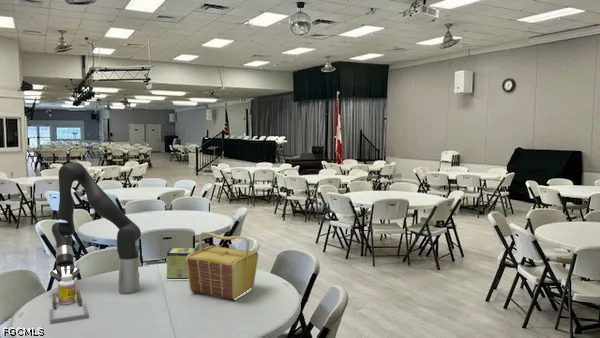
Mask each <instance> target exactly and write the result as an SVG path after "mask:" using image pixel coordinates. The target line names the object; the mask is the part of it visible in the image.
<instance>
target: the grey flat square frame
mask: <svg viewBox="0 0 600 338" xmlns="http://www.w3.org/2000/svg"><path fill="white" fill-rule="evenodd" d="M82 309H83V312H84V314H77V315H70V316H63V317H59V318H58V317H57V318H55V316H54V310H53V308H49V317H50V318H49V319H50V322H49V323H50V325H52V324H58V323H65V322H72V321H78V320H79V321H80V320H84V319H89V318H90V313H89V310H88V307H87V304H83V305H82Z"/></svg>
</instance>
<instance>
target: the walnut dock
mask: <svg viewBox="0 0 600 338" xmlns="http://www.w3.org/2000/svg"><path fill="white" fill-rule="evenodd" d="M56 295H57V294H56V292H53V293H52V309H53V311H57V307H58V306H57V296H56ZM76 300H77V303H78V304H77V305H78V307H83V305H82V304H83V298H82V295H81V291H80V289H76Z"/></svg>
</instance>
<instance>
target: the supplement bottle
mask: <svg viewBox="0 0 600 338" xmlns="http://www.w3.org/2000/svg"><path fill="white" fill-rule="evenodd" d="M60 277H61V279H62V281H60V282H58V303H59V304H60V305H64V306H66V305H67V306H68V305H71V304H74V303H75V299H76V282H75V279H73V280H72V278H73V273H71V274H64V275H62V276H60Z"/></svg>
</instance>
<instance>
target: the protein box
mask: <svg viewBox="0 0 600 338" xmlns="http://www.w3.org/2000/svg"><path fill="white" fill-rule="evenodd" d="M196 251H198V248H194V247H189V248H186V247H183V248H181V247H180V248H178V247H177V248H175V247H174V248H173V247H172V248H171V247H170V248H169V250H168V251H167V253H166V280H167V279H188V272H187V265H186V257H187V256H188V255H189V254H191V253H193V252H196Z"/></svg>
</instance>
